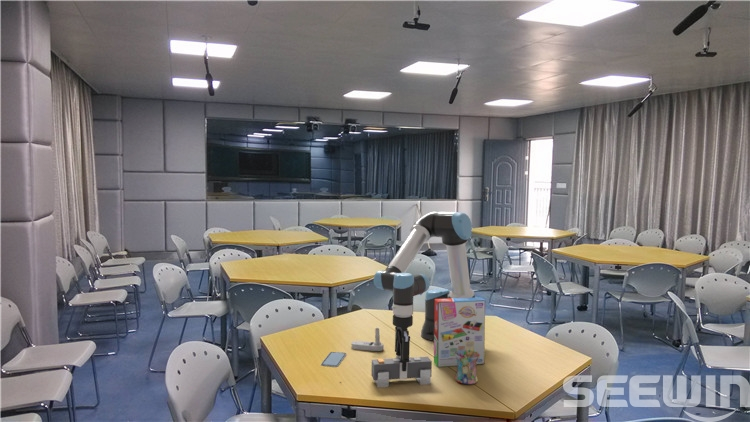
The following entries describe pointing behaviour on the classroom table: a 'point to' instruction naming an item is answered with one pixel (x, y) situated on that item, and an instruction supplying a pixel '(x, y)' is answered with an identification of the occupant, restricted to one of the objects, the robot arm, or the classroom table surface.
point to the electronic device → (369, 343)
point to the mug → (466, 366)
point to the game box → (458, 329)
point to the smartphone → (333, 359)
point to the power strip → (394, 367)
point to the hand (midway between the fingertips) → (401, 375)
